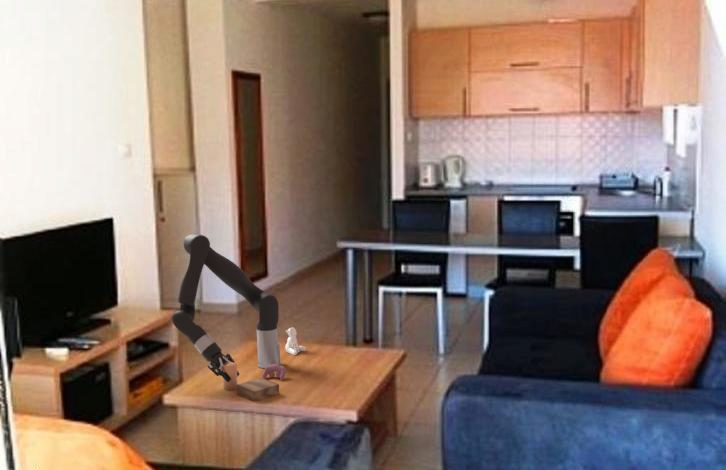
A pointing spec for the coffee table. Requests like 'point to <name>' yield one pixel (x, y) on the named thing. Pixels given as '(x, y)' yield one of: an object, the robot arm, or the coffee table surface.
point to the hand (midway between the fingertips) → (233, 378)
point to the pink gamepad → (272, 368)
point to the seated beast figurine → (293, 343)
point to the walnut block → (258, 389)
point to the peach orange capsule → (232, 372)
